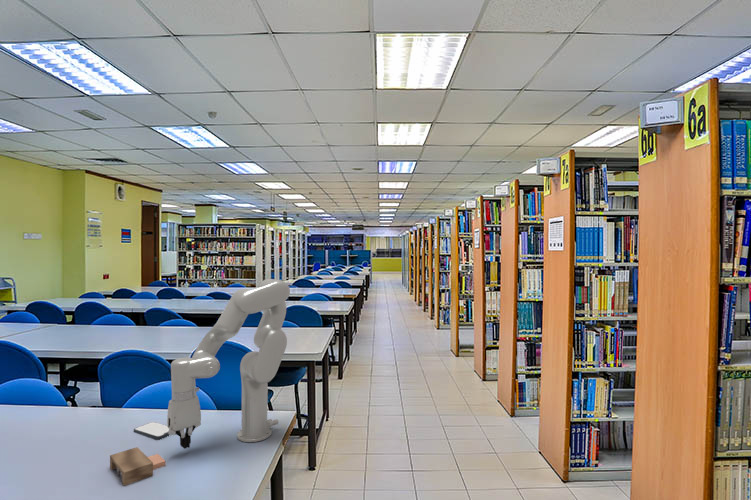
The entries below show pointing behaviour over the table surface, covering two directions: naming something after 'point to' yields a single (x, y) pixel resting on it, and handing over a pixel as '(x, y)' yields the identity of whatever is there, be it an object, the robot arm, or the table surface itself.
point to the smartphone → (153, 430)
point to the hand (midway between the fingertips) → (185, 446)
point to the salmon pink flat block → (157, 461)
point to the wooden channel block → (131, 465)
